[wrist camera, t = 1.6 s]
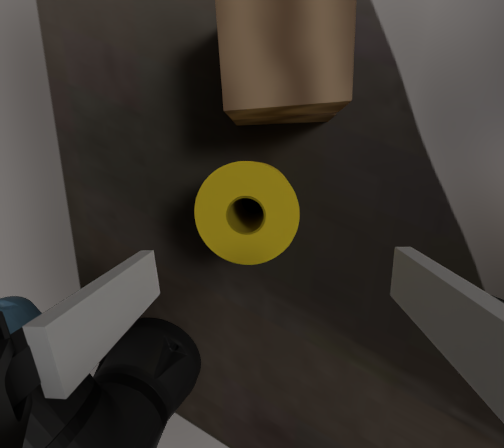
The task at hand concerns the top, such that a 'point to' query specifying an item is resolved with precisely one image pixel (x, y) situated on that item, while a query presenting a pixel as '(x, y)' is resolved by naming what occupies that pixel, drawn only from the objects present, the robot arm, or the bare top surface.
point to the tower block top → (285, 56)
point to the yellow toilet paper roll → (246, 212)
